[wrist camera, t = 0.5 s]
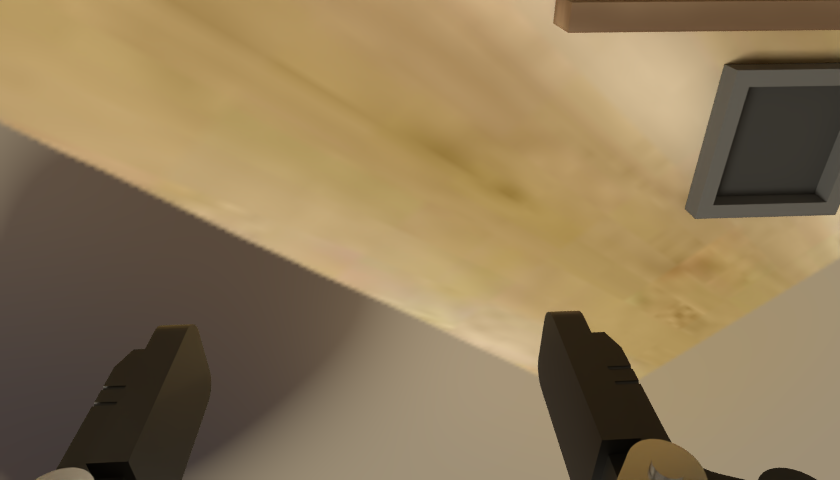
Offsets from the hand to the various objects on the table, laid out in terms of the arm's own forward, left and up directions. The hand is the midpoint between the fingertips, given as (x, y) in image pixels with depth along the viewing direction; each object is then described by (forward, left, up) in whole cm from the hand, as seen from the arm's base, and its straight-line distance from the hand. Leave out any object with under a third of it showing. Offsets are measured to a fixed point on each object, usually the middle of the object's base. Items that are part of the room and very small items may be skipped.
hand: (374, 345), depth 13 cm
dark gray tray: (+4, +26, -24) cm, 36 cm away
